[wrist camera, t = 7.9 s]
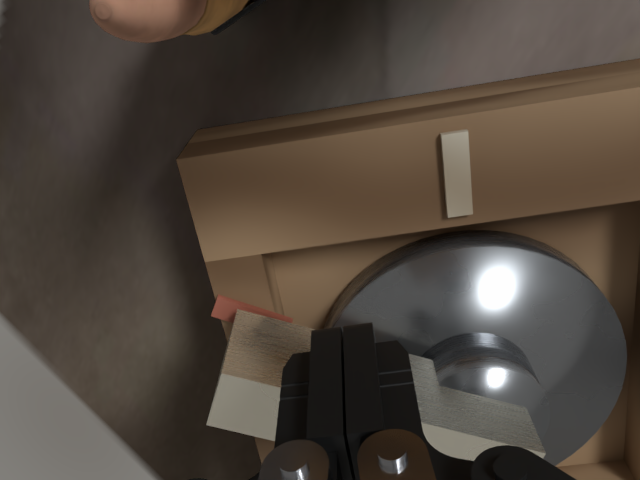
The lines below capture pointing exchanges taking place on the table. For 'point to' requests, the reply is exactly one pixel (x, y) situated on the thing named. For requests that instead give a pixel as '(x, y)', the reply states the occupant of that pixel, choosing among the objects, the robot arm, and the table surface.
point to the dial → (459, 345)
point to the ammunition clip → (167, 17)
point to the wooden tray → (430, 202)
